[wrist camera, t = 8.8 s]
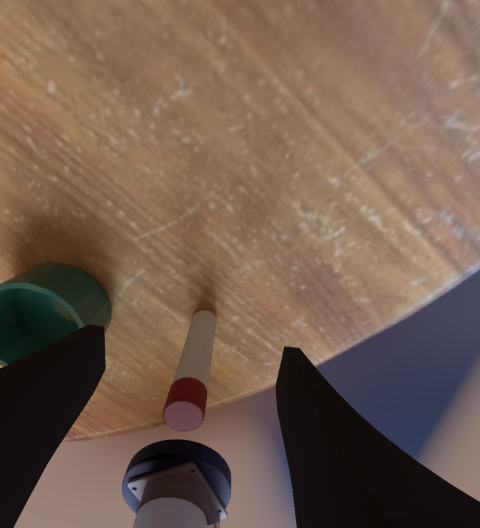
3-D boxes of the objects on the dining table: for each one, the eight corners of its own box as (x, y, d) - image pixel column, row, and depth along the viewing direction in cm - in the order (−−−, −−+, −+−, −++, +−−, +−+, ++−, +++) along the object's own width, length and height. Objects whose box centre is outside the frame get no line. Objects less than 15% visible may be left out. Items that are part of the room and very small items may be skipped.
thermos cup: (128, 328, 21) (107, 358, 18) (52, 357, 22) (18, 391, 18) (78, 248, 19) (43, 265, 15) (-4, 283, 20) (-53, 306, 16)
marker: (221, 326, 21) (210, 425, 13) (198, 334, 21) (173, 437, 13) (211, 305, 20) (192, 395, 12) (187, 313, 20) (154, 407, 12)
